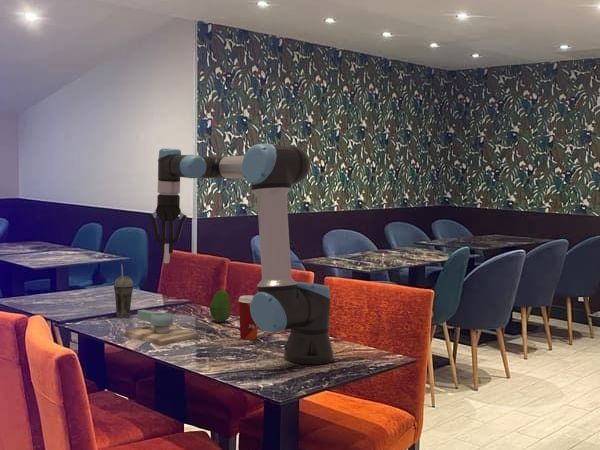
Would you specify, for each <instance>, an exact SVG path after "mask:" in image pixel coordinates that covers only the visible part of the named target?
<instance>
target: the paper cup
mask: <svg viewBox="0 0 600 450" xmlns="http://www.w3.org/2000/svg"><path fill="white" fill-rule="evenodd" d="M253 296H254V295H249V294H248V295H245V294H244V295H240V297H239V299H237V302H239V303H238V307H239V310H238V311H239V315H238V317H239V339H241V340H246V341H247V340H249V341H252V340H256V339H257V335H258V328H259V327H258V325H257V324H255V322H254V321H253V318H252V316H251V312H250V302H251V300H252V298H253Z"/></svg>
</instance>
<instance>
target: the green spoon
mask: <svg viewBox="0 0 600 450" xmlns="http://www.w3.org/2000/svg"><path fill="white" fill-rule="evenodd" d="M173 319H174V315H173V314H172V313H169V312H168V313H167V312H155V311H151V310H147V309H140V310H137V320H139V321H144V322H146V323H147V322H148V323H150V325H151V326H172V325H173V323H174V322H173Z"/></svg>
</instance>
